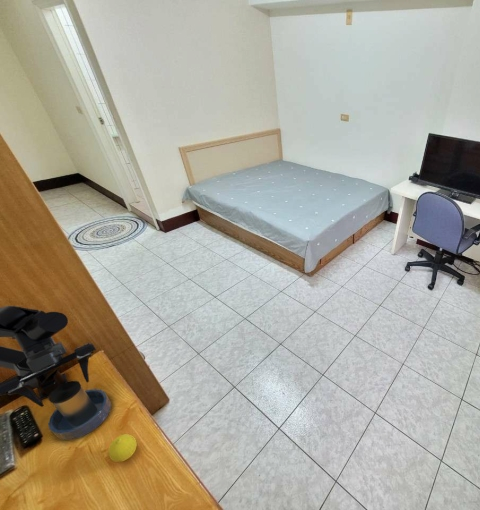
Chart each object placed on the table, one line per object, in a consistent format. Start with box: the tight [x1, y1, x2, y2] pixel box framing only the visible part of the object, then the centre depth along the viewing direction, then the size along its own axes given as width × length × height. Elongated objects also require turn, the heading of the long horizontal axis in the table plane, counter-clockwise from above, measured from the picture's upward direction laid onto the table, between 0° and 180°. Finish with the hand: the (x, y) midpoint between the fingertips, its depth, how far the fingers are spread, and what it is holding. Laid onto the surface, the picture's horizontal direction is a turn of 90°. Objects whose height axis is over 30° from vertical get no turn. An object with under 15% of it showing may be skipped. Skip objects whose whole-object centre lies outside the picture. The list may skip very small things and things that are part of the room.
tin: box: [48, 380, 97, 426], centre depth 74 cm, size 6×6×12 cm
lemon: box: [108, 433, 138, 463], centre depth 68 cm, size 6×6×8 cm
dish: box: [48, 388, 112, 441], centre depth 76 cm, size 12×12×4 cm
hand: (66, 393), depth 72 cm, fingers open, 9 cm apart
